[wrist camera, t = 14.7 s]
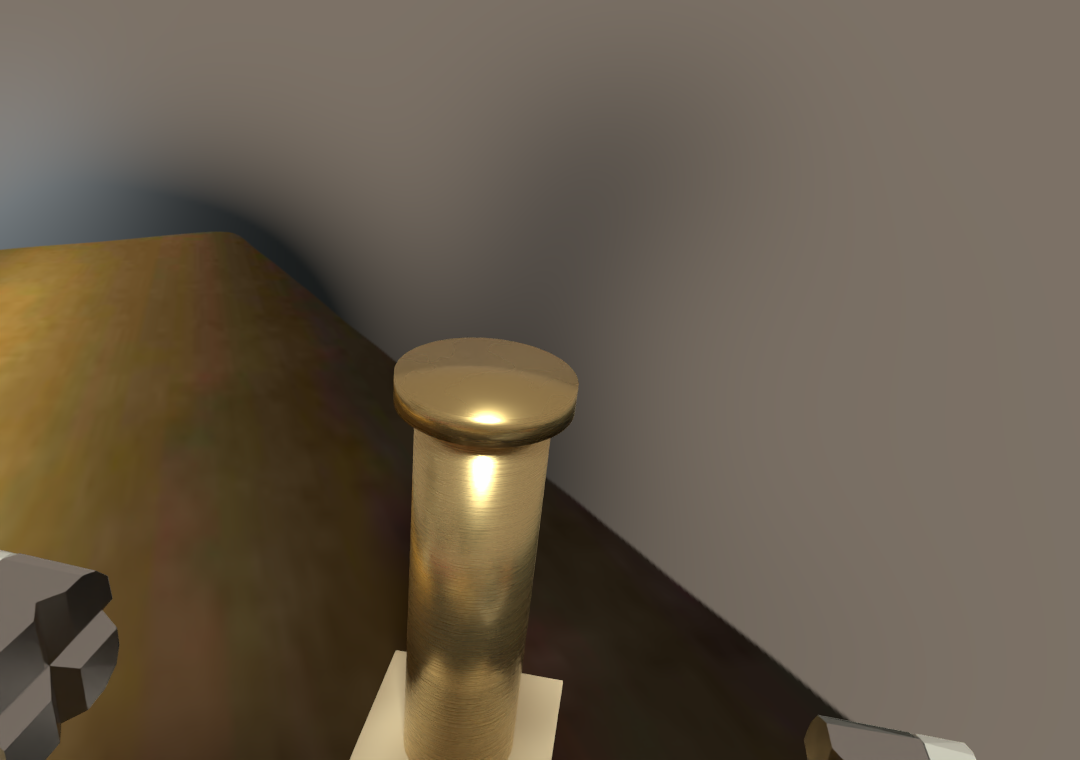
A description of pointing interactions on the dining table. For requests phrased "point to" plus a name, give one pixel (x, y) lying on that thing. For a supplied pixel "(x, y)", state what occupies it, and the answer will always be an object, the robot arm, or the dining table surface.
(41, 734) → the robot arm
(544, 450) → the cover plug
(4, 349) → the dining table surface
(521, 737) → the coaster
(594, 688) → the dining table surface
